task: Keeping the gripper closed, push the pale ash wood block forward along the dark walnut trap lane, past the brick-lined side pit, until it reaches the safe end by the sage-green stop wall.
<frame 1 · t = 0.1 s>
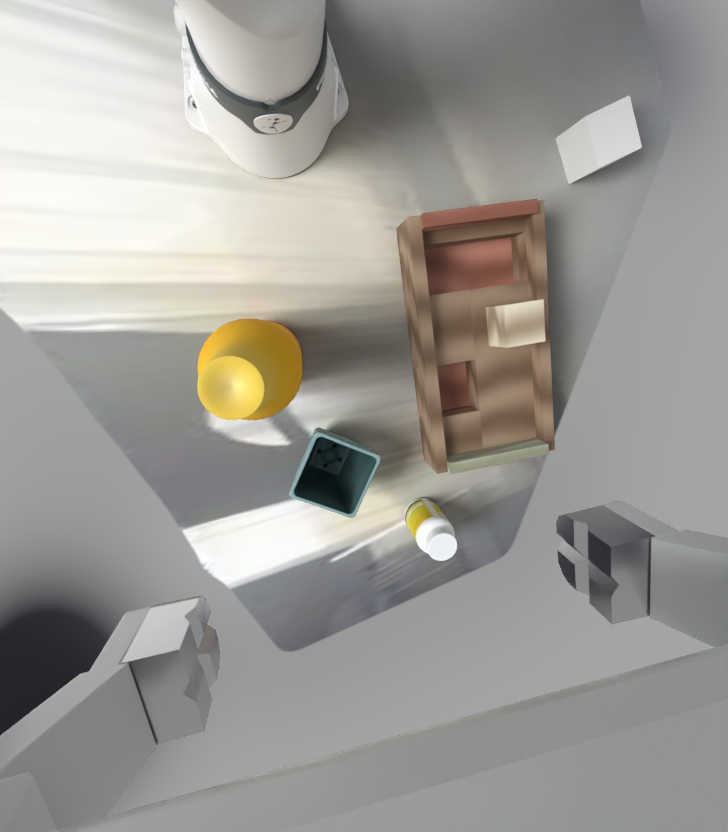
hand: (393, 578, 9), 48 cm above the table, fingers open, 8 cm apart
beer bottle: (266, 356, 54), on the table
white cube: (580, 153, 55), on the table
supplement bottle: (420, 513, 63), on the table
ash block: (505, 323, 54), point 4 cm above the table, touching trap lane
flower pot: (330, 454, 59), on the table
trap lane: (469, 342, 58), on the table
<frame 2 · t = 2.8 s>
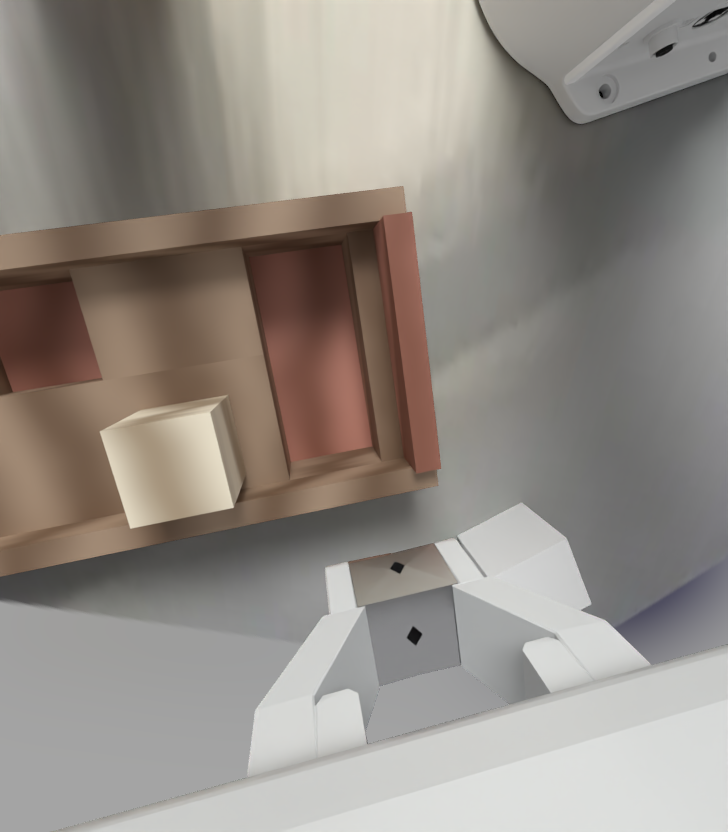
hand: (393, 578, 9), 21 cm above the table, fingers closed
white cube: (500, 546, 34), on the table
ash block: (195, 442, 25), point 4 cm above the table, touching trap lane
trap lane: (166, 382, 27), on the table
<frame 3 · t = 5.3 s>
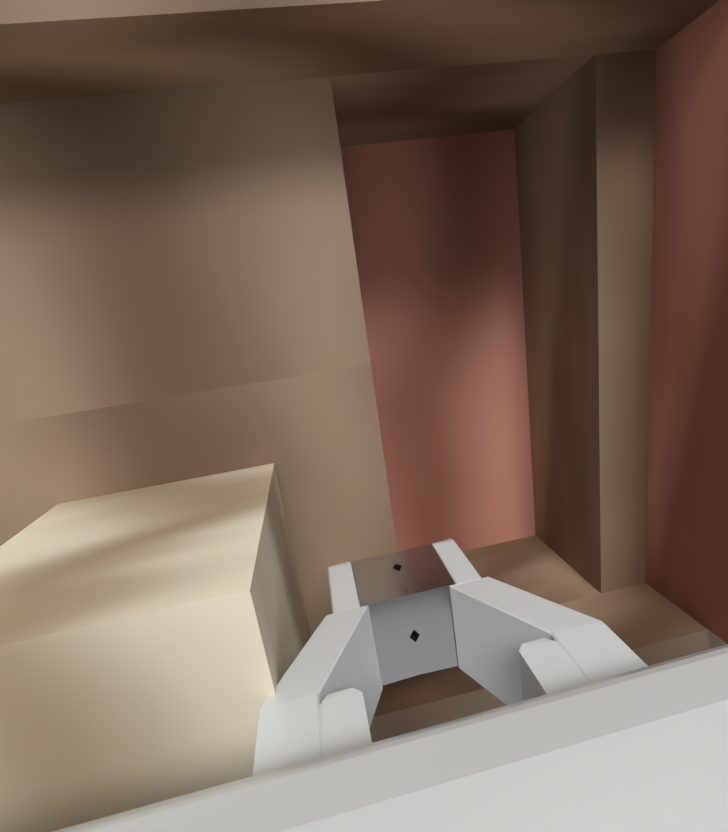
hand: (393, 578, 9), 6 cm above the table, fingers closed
ash block: (194, 574, 10), point 4 cm above the table, touching gripper
trap lane: (142, 418, 13), on the table
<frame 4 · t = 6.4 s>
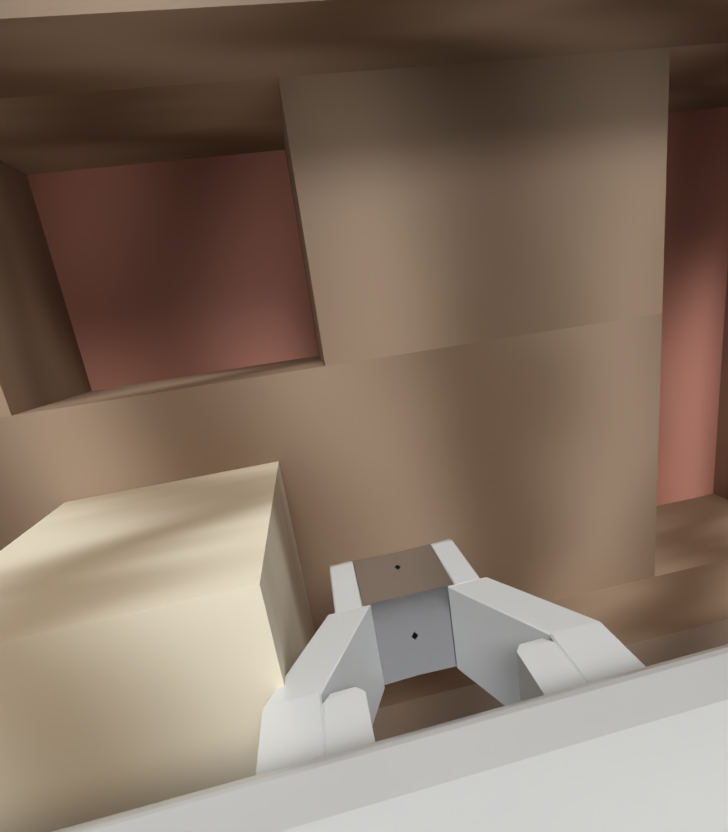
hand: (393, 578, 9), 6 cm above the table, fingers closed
ash block: (200, 571, 10), point 4 cm above the table, touching gripper
trap lane: (380, 374, 14), on the table
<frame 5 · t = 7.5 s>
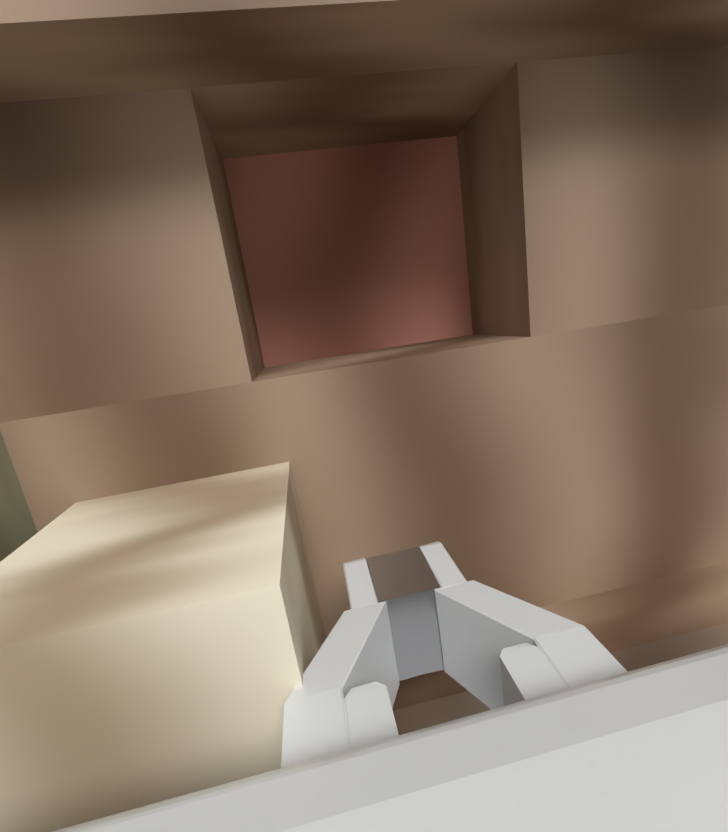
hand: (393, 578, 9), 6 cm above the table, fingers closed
ash block: (210, 572, 10), point 4 cm above the table, touching gripper, trap lane
trap lane: (523, 353, 15), on the table
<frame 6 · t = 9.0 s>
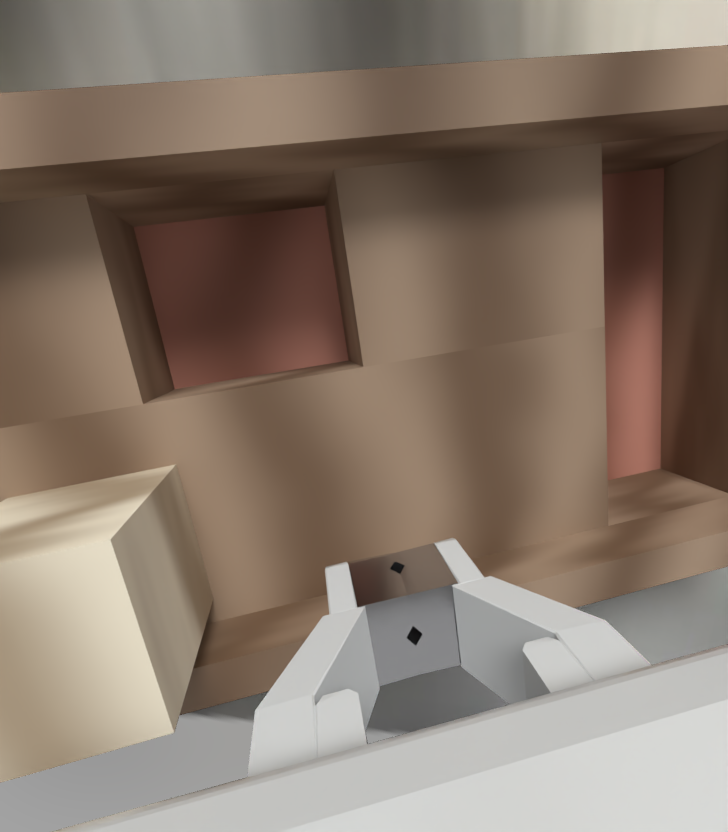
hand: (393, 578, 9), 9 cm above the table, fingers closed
ash block: (117, 551, 13), point 4 cm above the table, touching trap lane
trap lane: (395, 375, 18), on the table
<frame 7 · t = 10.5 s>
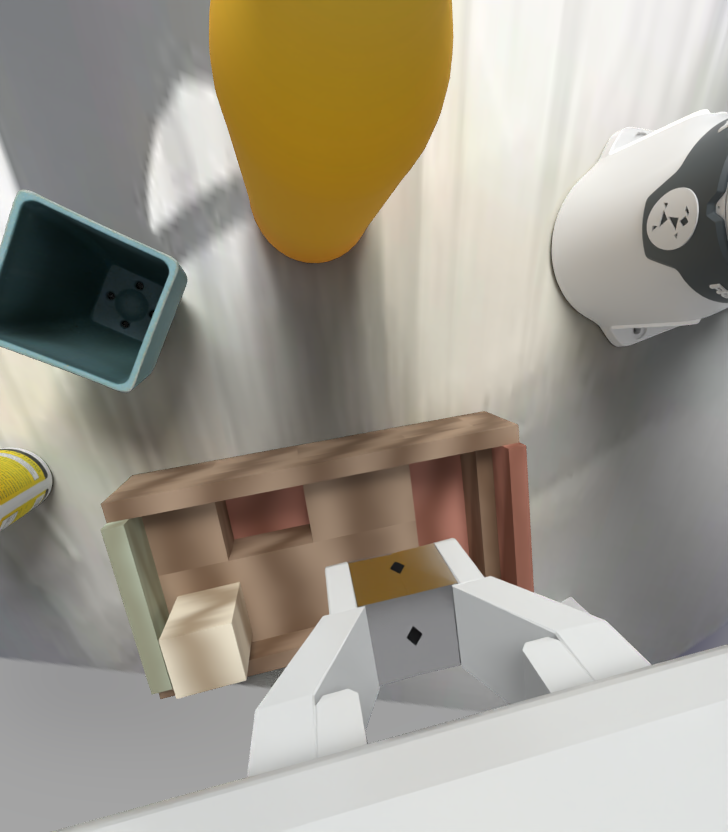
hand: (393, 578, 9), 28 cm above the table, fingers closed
beer bottle: (310, 206, 33), on the table
supplement bottle: (18, 477, 34), on the table
ash block: (216, 615, 34), point 4 cm above the table, touching trap lane
flower pot: (135, 307, 33), on the table
trap lane: (333, 526, 39), on the table
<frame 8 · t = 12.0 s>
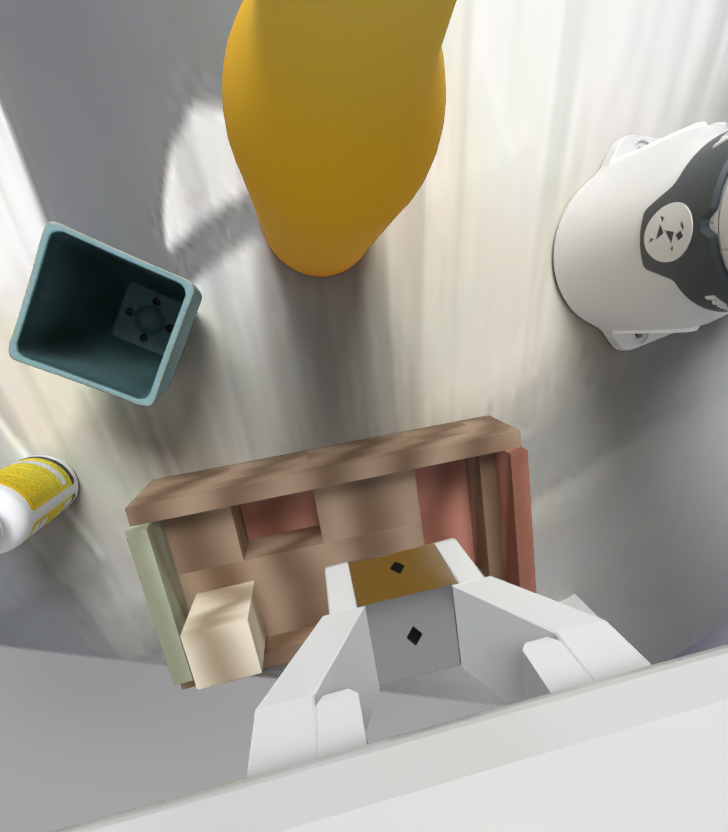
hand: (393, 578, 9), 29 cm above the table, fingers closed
beer bottle: (317, 221, 35), on the table
white cube: (558, 623, 48), on the table
supplement bottle: (47, 482, 36), on the table
ash block: (232, 611, 36), point 4 cm above the table, touching trap lane
flower pot: (152, 321, 34), on the table
trap lane: (343, 527, 41), on the table
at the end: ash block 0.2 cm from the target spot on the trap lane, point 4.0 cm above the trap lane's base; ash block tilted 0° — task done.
